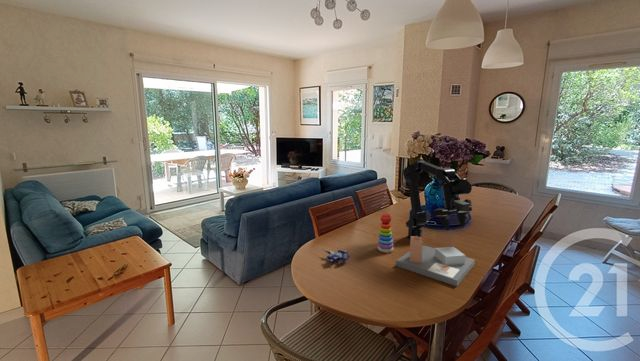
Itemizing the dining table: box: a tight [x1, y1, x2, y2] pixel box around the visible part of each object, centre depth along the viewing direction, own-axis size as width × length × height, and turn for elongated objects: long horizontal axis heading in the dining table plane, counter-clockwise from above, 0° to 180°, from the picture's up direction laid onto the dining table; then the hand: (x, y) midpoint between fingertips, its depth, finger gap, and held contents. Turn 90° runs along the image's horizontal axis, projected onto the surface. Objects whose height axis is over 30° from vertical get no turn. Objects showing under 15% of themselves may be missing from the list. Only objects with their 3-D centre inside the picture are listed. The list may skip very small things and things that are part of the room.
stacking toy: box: [376, 213, 395, 254], centre depth 149 cm, size 8×8×19 cm
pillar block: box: [409, 236, 424, 263], centre depth 134 cm, size 5×5×11 cm
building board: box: [395, 244, 476, 287], centre depth 134 cm, size 26×24×3 cm
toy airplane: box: [320, 249, 351, 265], centre depth 140 cm, size 13×14×4 cm
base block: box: [434, 246, 466, 265], centre depth 134 cm, size 9×9×4 cm
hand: (455, 228), depth 140 cm, fingers open, 9 cm apart
